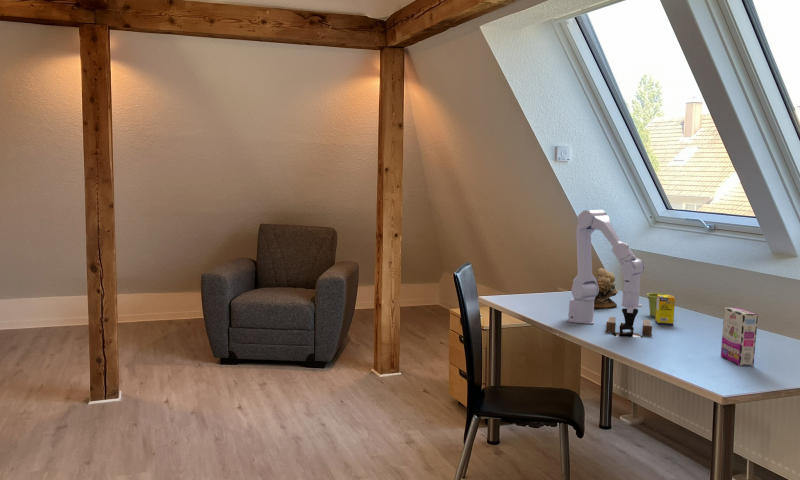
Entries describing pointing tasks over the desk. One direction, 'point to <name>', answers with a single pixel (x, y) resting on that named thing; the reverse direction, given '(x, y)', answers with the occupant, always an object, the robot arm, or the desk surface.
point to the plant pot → (653, 302)
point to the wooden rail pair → (645, 331)
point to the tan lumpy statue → (605, 290)
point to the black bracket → (626, 334)
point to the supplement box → (665, 309)
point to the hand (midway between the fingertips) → (628, 328)
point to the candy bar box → (739, 336)
